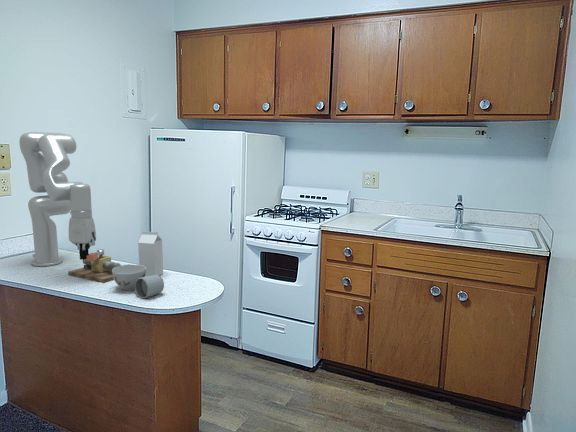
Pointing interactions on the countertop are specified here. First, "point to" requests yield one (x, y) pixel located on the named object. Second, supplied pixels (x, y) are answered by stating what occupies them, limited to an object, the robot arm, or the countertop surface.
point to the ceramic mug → (149, 286)
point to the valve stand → (96, 269)
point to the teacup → (128, 275)
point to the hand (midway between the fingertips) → (84, 258)
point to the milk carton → (151, 253)
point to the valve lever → (95, 255)
